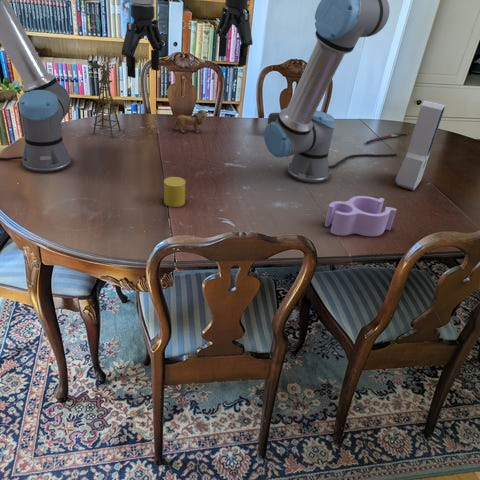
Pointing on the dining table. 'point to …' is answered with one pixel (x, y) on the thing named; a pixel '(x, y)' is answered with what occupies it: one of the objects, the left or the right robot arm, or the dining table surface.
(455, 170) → the dining table surface
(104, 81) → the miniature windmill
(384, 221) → the clip
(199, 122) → the lion figurine
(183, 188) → the tin
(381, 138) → the sword
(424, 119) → the electronic device
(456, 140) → the dining table surface
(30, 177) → the dining table surface
